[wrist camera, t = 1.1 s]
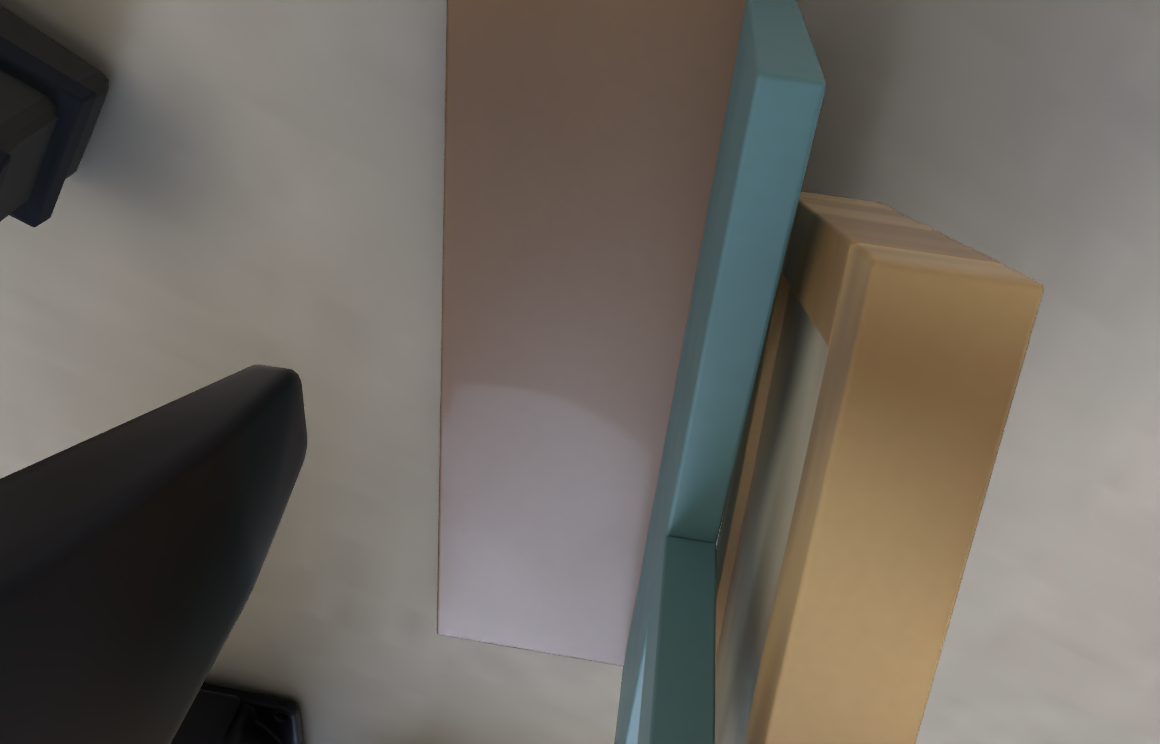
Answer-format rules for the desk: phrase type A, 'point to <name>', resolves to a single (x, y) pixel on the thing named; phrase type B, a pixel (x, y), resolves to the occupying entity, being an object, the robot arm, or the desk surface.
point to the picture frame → (861, 475)
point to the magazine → (41, 118)
